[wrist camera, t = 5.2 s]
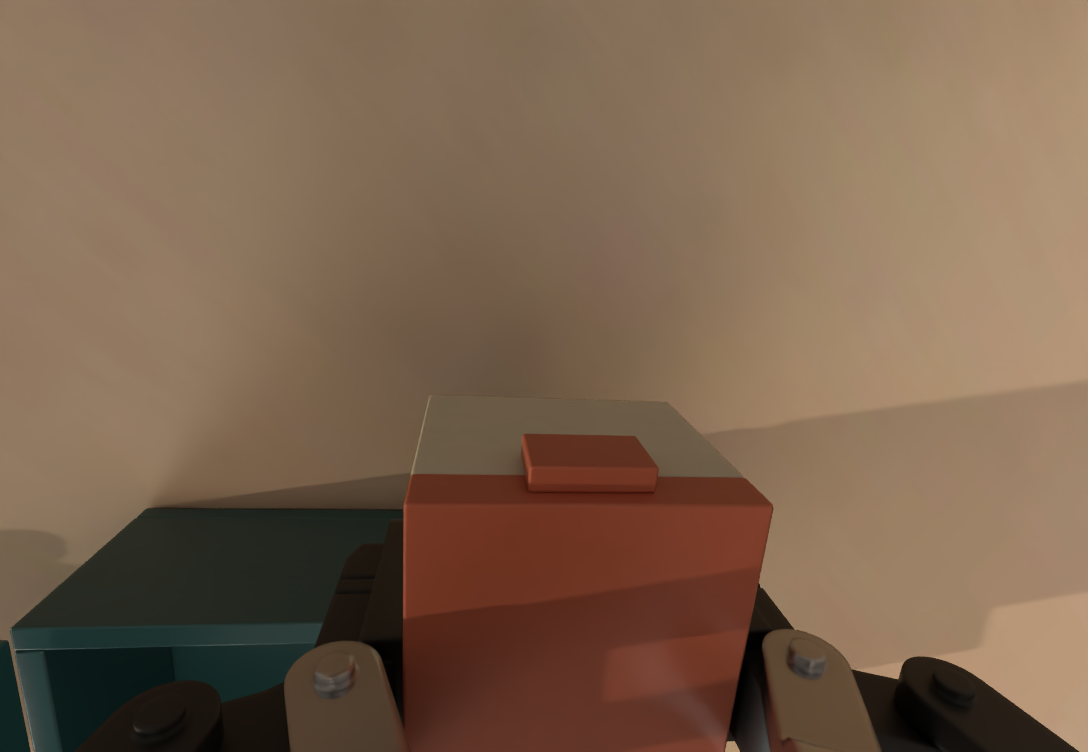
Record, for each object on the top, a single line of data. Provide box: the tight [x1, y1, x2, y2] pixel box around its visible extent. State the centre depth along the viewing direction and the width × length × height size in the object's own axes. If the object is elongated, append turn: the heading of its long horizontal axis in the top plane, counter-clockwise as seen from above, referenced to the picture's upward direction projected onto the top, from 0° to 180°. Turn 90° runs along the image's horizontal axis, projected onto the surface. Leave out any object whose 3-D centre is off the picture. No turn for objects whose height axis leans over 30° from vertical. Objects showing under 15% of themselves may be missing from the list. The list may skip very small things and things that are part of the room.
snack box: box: [403, 395, 773, 752], centre depth 10 cm, size 8×5×4 cm, turn 176°
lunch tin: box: [10, 508, 404, 752], centre depth 23 cm, size 16×13×7 cm
